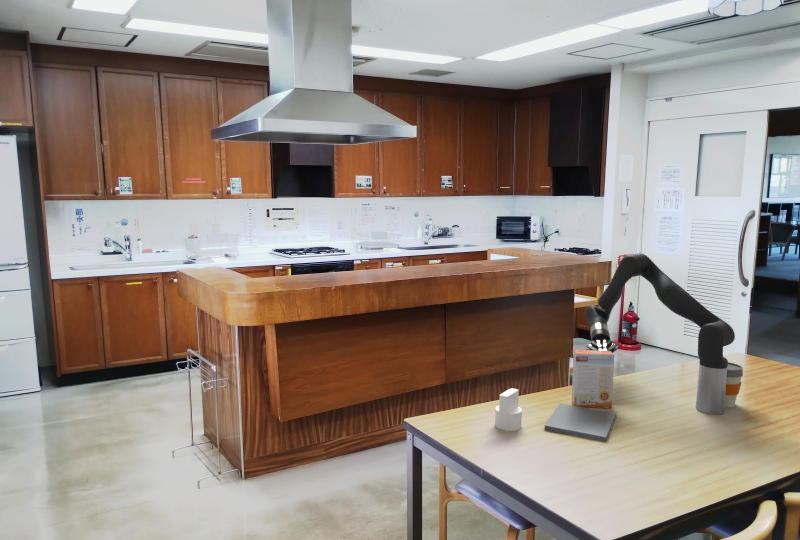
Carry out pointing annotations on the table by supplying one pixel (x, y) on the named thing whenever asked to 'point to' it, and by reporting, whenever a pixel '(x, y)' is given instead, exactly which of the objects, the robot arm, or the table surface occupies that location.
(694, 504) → the table surface
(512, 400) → the cylinder with rectangular tab
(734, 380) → the reusable coffee cup
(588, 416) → the board
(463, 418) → the table surface
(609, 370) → the cracker box
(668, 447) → the table surface
